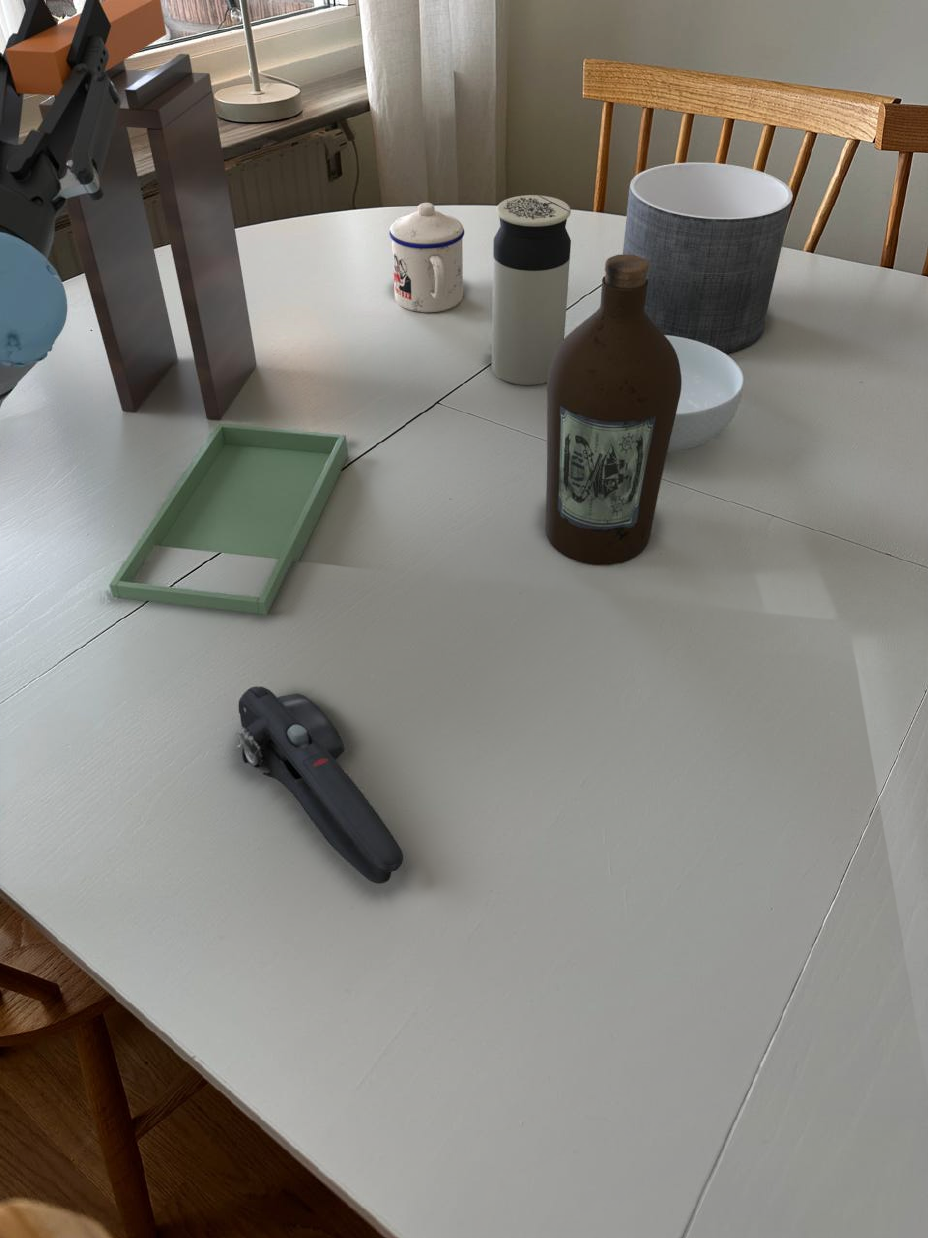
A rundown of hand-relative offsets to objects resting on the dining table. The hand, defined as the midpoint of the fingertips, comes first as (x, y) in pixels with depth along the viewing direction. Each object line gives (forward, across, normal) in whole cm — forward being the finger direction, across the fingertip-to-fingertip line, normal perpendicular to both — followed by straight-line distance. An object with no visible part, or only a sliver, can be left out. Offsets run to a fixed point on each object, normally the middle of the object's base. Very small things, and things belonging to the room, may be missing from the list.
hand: (71, 9), depth 78 cm
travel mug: (-4, +36, -40) cm, 54 cm away
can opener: (-58, +30, -10) cm, 66 cm away
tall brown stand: (-13, 0, -36) cm, 38 cm away
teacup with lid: (+9, +22, -48) cm, 54 cm away
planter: (+9, +54, -48) cm, 73 cm away
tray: (-33, +14, -24) cm, 43 cm away
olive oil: (-29, +46, -26) cm, 61 cm away
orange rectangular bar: (0, 0, -5) cm, 5 cm away
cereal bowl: (-14, +50, -35) cm, 63 cm away
